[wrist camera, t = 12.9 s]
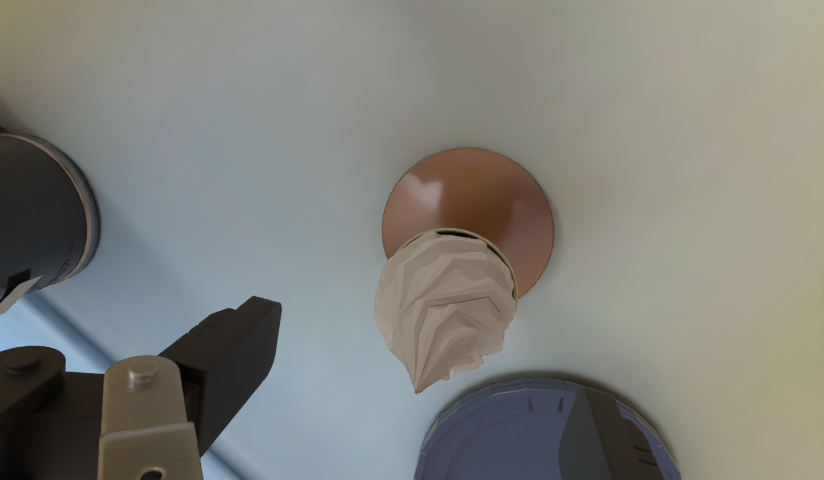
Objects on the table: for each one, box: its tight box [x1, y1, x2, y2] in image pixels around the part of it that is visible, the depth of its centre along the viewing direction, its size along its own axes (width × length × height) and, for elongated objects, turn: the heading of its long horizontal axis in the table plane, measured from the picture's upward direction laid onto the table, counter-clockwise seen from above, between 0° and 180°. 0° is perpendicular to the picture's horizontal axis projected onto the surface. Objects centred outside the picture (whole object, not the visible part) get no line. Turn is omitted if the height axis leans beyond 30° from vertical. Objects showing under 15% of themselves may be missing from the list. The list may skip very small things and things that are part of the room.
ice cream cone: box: [373, 228, 518, 395], centre depth 20 cm, size 5×5×15 cm
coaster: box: [382, 147, 554, 299], centre depth 27 cm, size 9×9×1 cm
